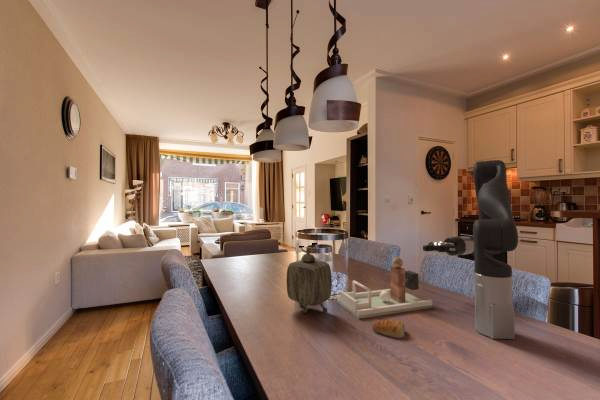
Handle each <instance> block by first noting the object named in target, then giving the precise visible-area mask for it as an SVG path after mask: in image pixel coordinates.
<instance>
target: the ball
mask: <svg viewBox="0 0 600 400" xmlns="http://www.w3.org/2000/svg"><path fill="white" fill-rule="evenodd" d="M380 299H381V300H382V301H384V302H388V301H389V300H390V299H391V295H390V293H389V292H388V291H382V292H381V293H380Z"/></svg>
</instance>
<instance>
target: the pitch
mask: <svg viewBox="0 0 600 400" xmlns="http://www.w3.org/2000/svg"><path fill="white" fill-rule="evenodd" d="M382 291H388V292H389V293H390V295H391V290H390V288H386V289H378V290H371V298H372V308H367V309H360V310H357V313H354V312H353V311H352V310H350V309H349V308H348V307H346V306H345V305H344V304H343V303H341V302H340V295H339V294H337V295H336V302H337V303H338V304H339V305H341V307H343V308H344V309H345V310H347V311H348V312H350V313H351V314H352V315H353V316H354V317H355V318H357V319H358V320H359V319H366V318H373V317H380V316H387V315H393V314H398V313H399V314H400V313H405V312H407V313H408V312H413V311H419V310H425V309H426V310H427V309H432V308H433V300H432V299H425V300H423V299H420V298H419V297H416V296H415V295H412V294H410V293H408V292H406V291H405V301H401V302H398V301H396V300H394V299H392V298H391V299H390V300H389V301H388V302H384V301H382V300H381V299H380V293H381V292H382ZM356 300H357V301H358V303H361V302H368V291H362V292H361V291H360V292H356Z"/></svg>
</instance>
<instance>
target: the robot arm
mask: <svg viewBox="0 0 600 400" xmlns="http://www.w3.org/2000/svg"><path fill="white" fill-rule="evenodd" d="M472 177H473V184H474V191H475V192H474V193H475V197H476V202H477V210H478V218H477V219H476V220H475V221H474V222H473V227H472V235H470V236H463V235H461V236H449V237H448V236H447V237H446V238H445V239H444V241H438V242H434V241H430V242H428V243H427V244H425V245H422V251H423V252H438V253H446V254H447V255H448V256H453V257H454V256H465V255H469V254H473V255H474V267H473V268H474V328H475V331H476V332H478V334H479V333H480V334H481V335H484V336H486V337H489V338H491V339H492V340H515V335H516V334H515V333H516V332H515V329H516V327H515V326H516V325H515V305H514V304H513V270H512V269H513V268H512V266H511V265H510V264H508V263H506V262H504V261H501V260H498V259H495V258H494V257H493V256H491V255H489V254H488V253H491V254H494V255H498V254H500V253H502V252H513V251H515V250H516V249H517V247H518V243H519V234H518V229H517V225H516V221H515V218H514V215H513V212H512V211H513V210H512V204H511V203H512V202H511V201H512V200H511V195H510V191H509V186H508V180H507V179H508V175H507V166H506V164H505V162H504V161H503V160H499V159H493V160H482V161H481V160H480V161H475V163H474V164H473V167H472ZM487 252H488V253H487Z"/></svg>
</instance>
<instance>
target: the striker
mask: <svg viewBox="0 0 600 400" xmlns="http://www.w3.org/2000/svg"><path fill="white" fill-rule="evenodd" d="M403 261H404V260H403V259H402V258H401V257H398V256H395V257H394V258H393V259H392V261H391V265H392V266H389V269H390V271H389V274H390V277H389V278H390V280H389V281H390V282H389V283H390V288H389V289H390V290H391V298H392V299H394V300H396V301H398V302H401V301H405V292H406V289H409V290H411V291H415V290H419V285H420V284H419V273H417V272H415V271H411V270H406V269H405V268H404V267H402V266H403V265H404V262H403Z"/></svg>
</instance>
